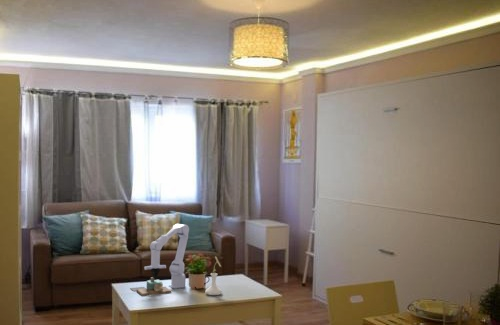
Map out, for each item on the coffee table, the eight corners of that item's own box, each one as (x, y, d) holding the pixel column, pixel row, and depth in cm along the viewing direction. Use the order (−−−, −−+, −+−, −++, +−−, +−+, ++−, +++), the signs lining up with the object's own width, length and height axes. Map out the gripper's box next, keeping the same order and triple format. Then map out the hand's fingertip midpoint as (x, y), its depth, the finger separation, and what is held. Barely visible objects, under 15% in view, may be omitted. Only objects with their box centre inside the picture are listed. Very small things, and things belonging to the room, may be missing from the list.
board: (165, 288, 355) (165, 286, 355) (171, 292, 345) (171, 290, 345) (136, 291, 345) (136, 289, 345) (142, 295, 335) (142, 293, 335)
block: (160, 290, 349) (160, 282, 349) (162, 292, 346) (162, 283, 346) (154, 291, 347) (154, 282, 347) (156, 293, 343) (156, 284, 343)
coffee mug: (190, 287, 361) (191, 273, 361) (201, 285, 366) (201, 271, 366) (199, 290, 352) (199, 276, 352) (210, 289, 357) (210, 274, 357)
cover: (158, 287, 351) (158, 275, 351) (162, 290, 343) (162, 278, 343) (146, 289, 347) (146, 276, 347) (150, 291, 339) (150, 279, 339)
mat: (143, 287, 358) (143, 286, 358) (147, 289, 351) (147, 289, 351) (129, 288, 353) (129, 288, 353) (133, 291, 346) (133, 290, 346)
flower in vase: (219, 297, 337) (220, 259, 337) (202, 295, 339) (203, 258, 339) (224, 292, 350) (225, 255, 350) (208, 291, 352) (209, 254, 352)
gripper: (146, 261, 338) (146, 281, 338) (167, 259, 345) (167, 279, 345) (143, 259, 344) (143, 279, 344) (164, 257, 351) (163, 277, 351)
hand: (154, 279), depth 345 cm, fingers closed
